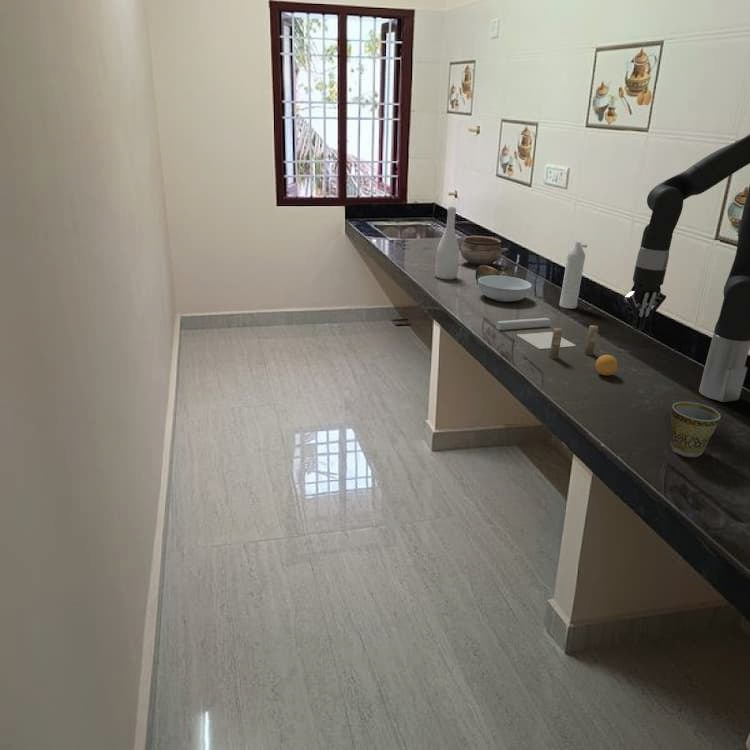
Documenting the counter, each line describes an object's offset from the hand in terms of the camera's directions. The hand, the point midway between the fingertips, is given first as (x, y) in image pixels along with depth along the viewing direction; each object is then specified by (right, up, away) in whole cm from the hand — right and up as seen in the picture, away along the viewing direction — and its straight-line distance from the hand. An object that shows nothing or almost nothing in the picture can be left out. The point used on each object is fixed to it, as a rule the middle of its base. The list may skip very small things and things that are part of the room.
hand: (637, 328), depth 180 cm
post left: (-16, -7, +26) cm, 31 cm away
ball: (-4, -10, +13) cm, 17 cm away
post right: (-3, -6, +30) cm, 31 cm away
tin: (-24, +25, +102) cm, 107 cm away
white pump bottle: (+4, +13, +78) cm, 80 cm away
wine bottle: (-40, +30, +113) cm, 123 cm away
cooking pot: (-21, +40, +138) cm, 145 cm away
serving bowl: (-20, +18, +85) cm, 90 cm away
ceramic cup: (+2, -30, -26) cm, 39 cm away
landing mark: (-15, -1, +40) cm, 43 cm away
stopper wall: (-19, +4, +52) cm, 56 cm away
